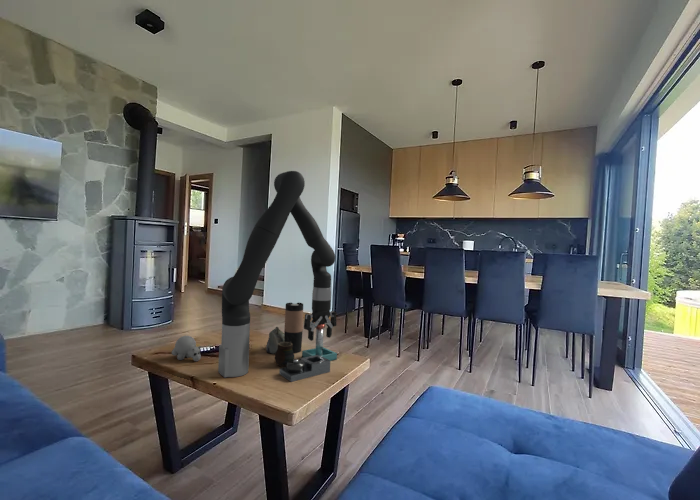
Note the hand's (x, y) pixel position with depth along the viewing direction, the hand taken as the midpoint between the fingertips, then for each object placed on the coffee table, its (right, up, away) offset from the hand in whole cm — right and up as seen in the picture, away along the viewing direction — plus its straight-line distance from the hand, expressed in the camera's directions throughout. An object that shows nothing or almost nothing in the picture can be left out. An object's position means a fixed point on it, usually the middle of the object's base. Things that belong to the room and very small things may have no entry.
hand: (320, 338), depth 135 cm
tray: (0, -8, 0) cm, 8 cm away
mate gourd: (-12, -8, -9) cm, 17 cm away
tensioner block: (-4, -8, -16) cm, 18 cm away
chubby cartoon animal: (-50, -6, -7) cm, 51 cm away
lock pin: (0, -7, 0) cm, 7 cm away
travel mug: (-12, -7, +8) cm, 17 cm away
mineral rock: (-19, -7, +9) cm, 22 cm away
